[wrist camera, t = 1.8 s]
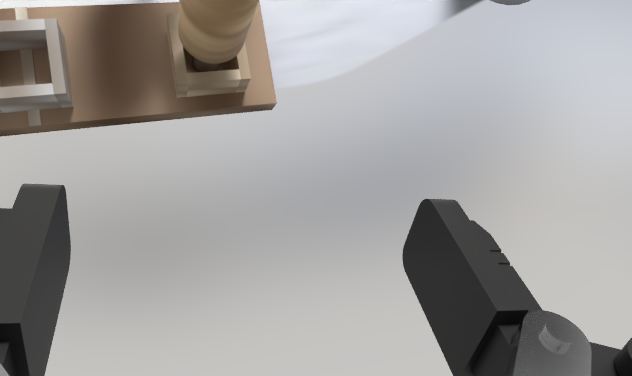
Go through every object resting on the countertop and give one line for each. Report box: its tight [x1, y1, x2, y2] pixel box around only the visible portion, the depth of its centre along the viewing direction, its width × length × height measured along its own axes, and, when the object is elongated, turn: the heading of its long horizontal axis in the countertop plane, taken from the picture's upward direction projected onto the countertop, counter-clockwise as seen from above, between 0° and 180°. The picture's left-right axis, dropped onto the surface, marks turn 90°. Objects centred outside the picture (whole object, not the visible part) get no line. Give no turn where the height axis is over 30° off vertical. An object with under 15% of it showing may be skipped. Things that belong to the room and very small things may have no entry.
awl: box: [178, 0, 259, 72], centre depth 27 cm, size 4×4×12 cm
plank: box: [0, 2, 276, 136], centre depth 31 cm, size 18×7×4 cm, turn 100°
